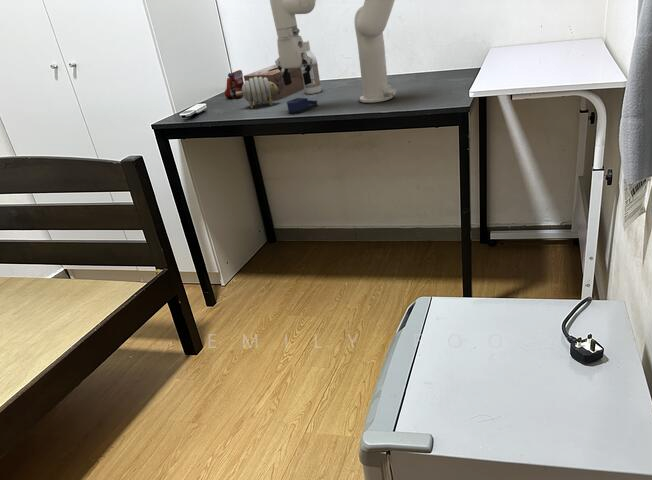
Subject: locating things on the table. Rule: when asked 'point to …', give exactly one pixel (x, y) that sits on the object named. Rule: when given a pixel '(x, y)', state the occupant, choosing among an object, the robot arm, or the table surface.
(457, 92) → the table surface
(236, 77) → the toy fire truck
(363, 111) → the table surface
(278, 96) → the tissue box cover
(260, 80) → the toy sheep
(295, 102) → the navy rounded-end tab
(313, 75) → the bath foam
